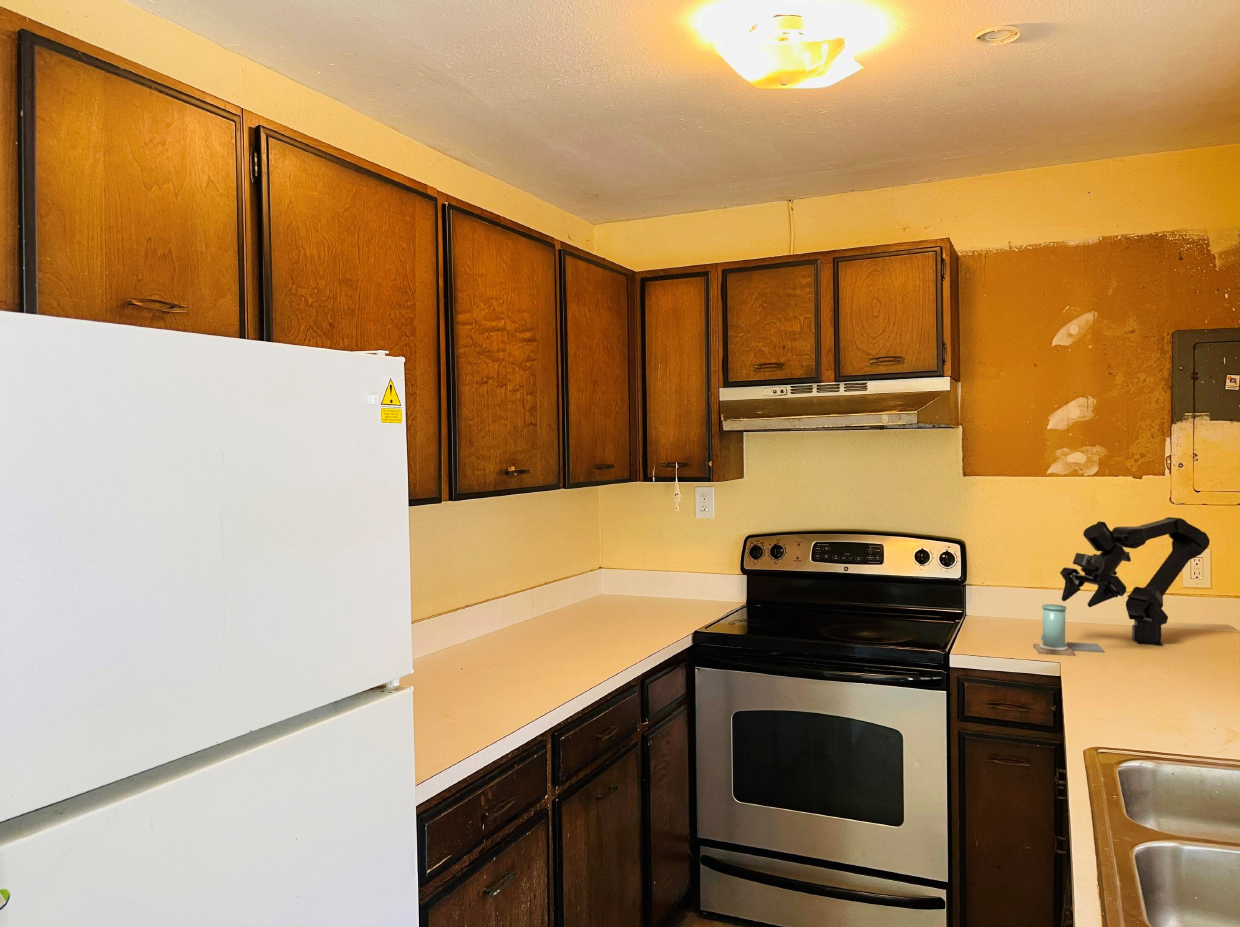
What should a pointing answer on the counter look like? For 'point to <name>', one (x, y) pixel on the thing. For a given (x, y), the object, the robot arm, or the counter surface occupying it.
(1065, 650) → the brown square coaster
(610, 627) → the counter surface
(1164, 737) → the counter surface
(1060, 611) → the teal cylindrical jar
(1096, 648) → the mat
